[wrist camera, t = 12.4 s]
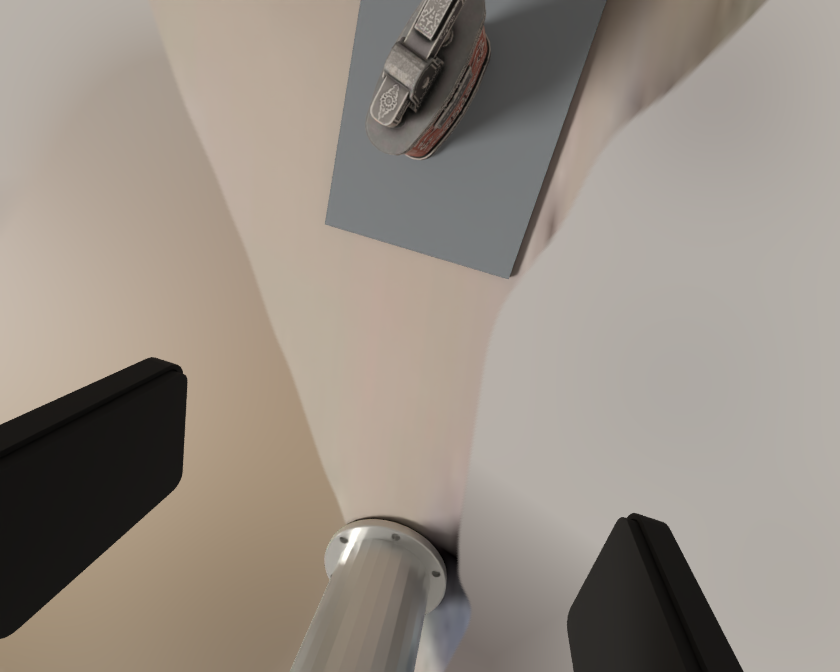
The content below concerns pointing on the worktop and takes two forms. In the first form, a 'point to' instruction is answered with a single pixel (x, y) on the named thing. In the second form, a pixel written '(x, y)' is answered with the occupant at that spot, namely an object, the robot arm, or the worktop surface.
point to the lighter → (429, 78)
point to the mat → (464, 136)
